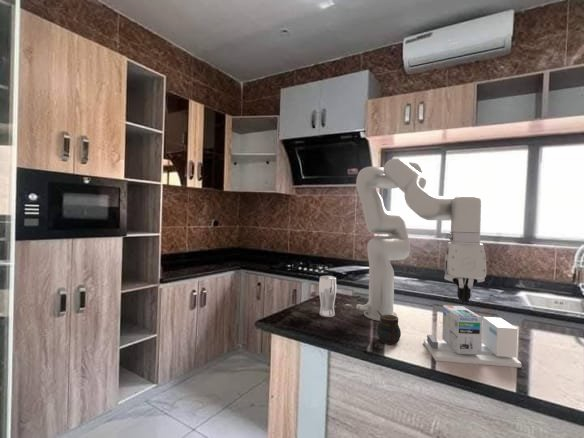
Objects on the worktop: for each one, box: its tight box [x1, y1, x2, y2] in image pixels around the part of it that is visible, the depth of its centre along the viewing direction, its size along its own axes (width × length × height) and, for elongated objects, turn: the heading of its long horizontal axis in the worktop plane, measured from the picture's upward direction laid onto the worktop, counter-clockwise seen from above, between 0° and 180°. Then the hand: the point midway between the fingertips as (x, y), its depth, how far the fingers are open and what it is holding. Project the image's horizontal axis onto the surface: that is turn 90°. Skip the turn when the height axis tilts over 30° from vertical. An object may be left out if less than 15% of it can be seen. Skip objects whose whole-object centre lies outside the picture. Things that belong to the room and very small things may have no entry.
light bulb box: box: [441, 304, 483, 355], centre depth 93 cm, size 11×7×11 cm, turn 178°
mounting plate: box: [423, 334, 522, 368], centre depth 93 cm, size 22×12×4 cm, turn 82°
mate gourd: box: [376, 311, 402, 346], centre depth 100 cm, size 7×8×10 cm
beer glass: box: [318, 275, 338, 318], centre depth 126 cm, size 7×7×15 cm
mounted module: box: [482, 316, 518, 358], centre depth 91 cm, size 5×9×8 cm, turn 172°
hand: (463, 300), depth 92 cm, fingers closed
